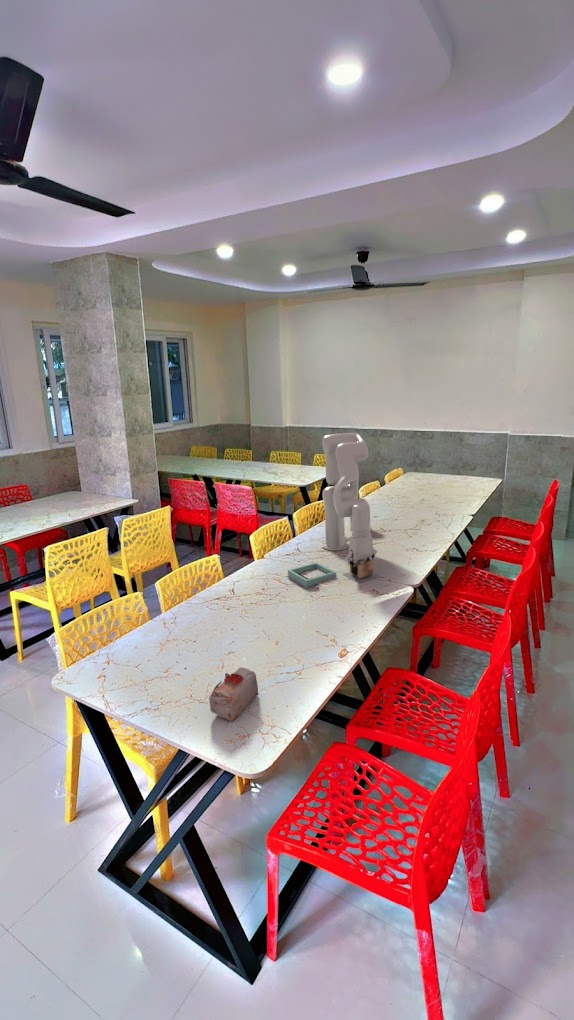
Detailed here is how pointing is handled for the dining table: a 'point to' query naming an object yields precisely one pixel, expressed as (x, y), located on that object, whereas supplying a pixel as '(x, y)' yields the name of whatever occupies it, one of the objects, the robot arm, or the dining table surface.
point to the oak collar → (364, 568)
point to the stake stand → (364, 579)
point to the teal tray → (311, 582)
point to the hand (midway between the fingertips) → (361, 571)
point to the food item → (234, 694)
